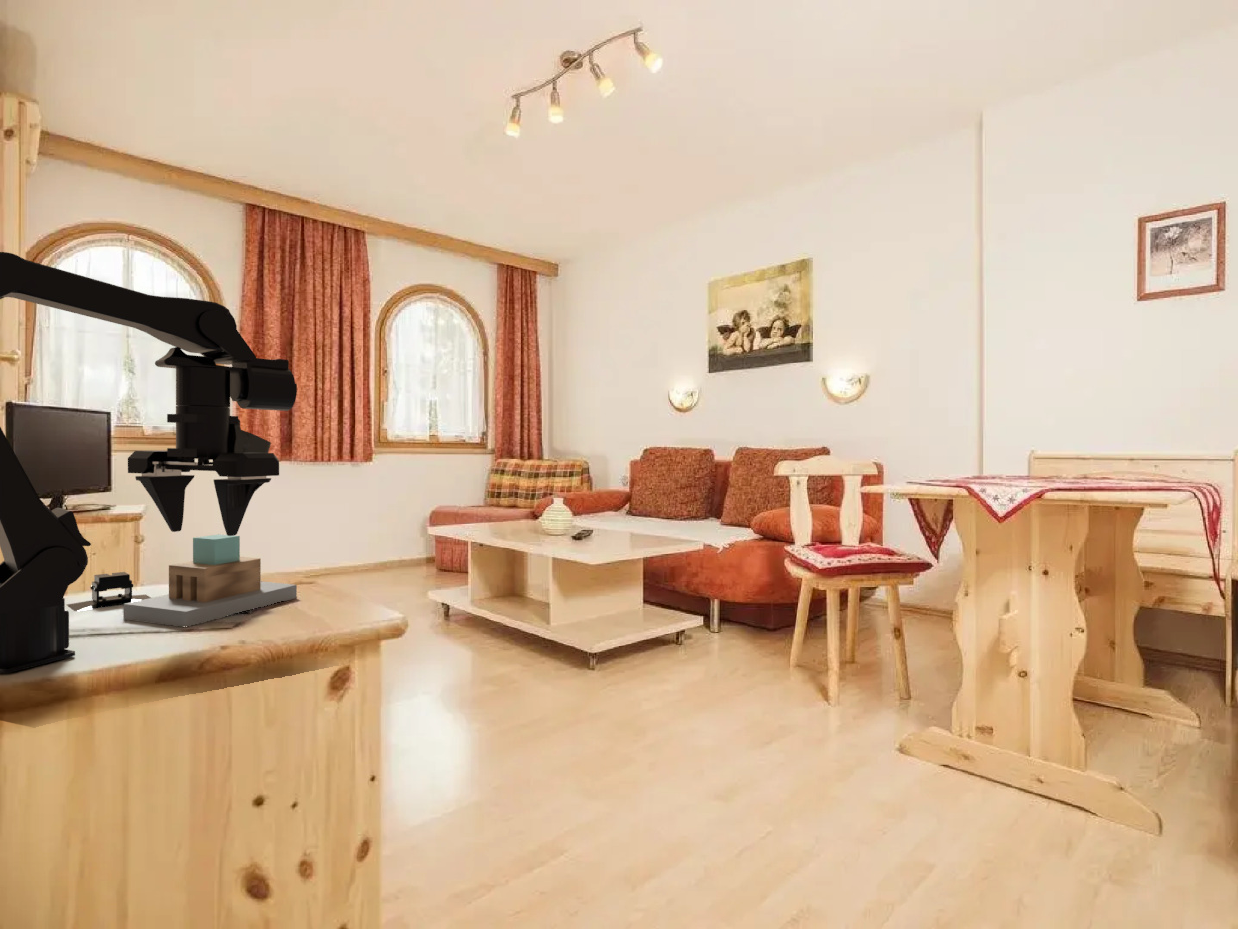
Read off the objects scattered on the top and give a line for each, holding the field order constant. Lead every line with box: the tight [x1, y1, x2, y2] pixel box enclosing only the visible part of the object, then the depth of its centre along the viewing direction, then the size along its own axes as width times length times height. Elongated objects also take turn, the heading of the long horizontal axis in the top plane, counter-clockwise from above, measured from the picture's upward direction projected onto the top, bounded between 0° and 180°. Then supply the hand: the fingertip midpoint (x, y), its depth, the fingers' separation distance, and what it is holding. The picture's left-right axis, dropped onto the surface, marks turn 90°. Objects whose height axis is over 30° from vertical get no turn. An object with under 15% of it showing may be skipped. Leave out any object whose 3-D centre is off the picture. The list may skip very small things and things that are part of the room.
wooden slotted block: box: [168, 556, 261, 602], centre depth 95 cm, size 9×6×4 cm
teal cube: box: [192, 534, 241, 565], centre depth 95 cm, size 4×4×4 cm
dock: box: [122, 581, 298, 628], centre depth 96 cm, size 18×11×2 cm, turn 161°
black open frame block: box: [66, 571, 152, 612], centre depth 98 cm, size 12×7×5 cm, turn 138°
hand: (203, 533), depth 84 cm, fingers open, 9 cm apart
